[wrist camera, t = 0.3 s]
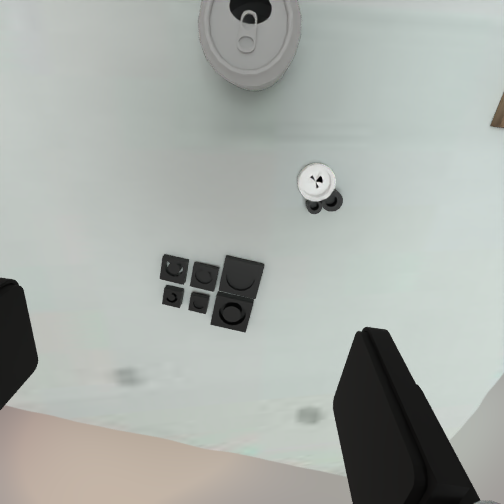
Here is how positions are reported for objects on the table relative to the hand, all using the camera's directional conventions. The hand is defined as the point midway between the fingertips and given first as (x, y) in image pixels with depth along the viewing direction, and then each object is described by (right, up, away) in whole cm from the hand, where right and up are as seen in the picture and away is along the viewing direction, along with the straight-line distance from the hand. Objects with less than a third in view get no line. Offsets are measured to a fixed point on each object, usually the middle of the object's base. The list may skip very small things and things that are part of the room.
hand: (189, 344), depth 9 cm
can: (+2, +23, +23) cm, 33 cm away
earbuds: (+1, +4, +33) cm, 33 cm away
